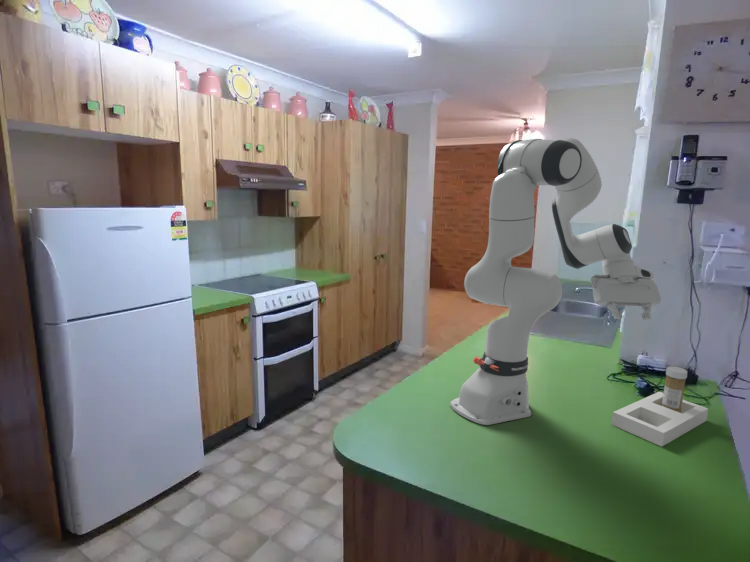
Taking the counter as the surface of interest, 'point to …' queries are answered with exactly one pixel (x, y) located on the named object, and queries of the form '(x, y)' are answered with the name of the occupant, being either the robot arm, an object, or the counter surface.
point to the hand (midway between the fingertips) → (632, 318)
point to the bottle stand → (658, 419)
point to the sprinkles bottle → (674, 388)
